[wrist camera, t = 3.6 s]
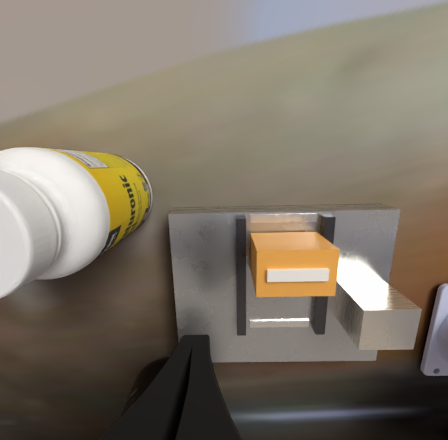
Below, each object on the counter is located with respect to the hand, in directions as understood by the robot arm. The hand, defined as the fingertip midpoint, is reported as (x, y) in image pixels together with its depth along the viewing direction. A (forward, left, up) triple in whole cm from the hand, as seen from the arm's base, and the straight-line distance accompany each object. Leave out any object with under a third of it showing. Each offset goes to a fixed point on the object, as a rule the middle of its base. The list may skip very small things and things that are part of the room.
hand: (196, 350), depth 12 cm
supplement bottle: (+6, -7, -6) cm, 11 cm away
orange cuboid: (-5, -4, -4) cm, 7 cm away
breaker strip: (-5, -1, -6) cm, 8 cm away
